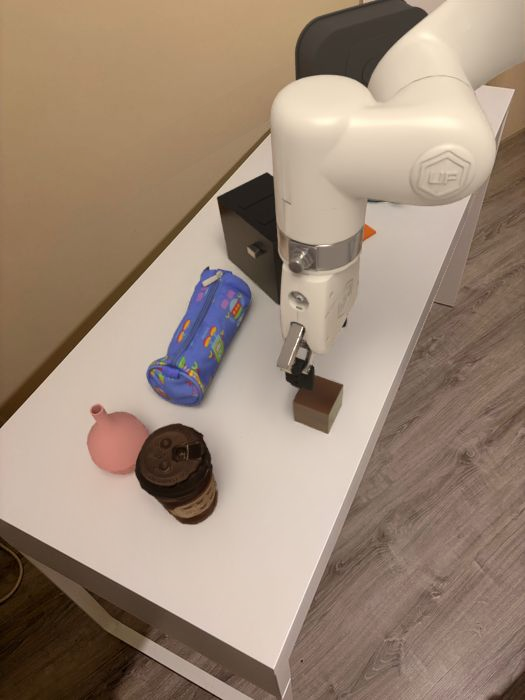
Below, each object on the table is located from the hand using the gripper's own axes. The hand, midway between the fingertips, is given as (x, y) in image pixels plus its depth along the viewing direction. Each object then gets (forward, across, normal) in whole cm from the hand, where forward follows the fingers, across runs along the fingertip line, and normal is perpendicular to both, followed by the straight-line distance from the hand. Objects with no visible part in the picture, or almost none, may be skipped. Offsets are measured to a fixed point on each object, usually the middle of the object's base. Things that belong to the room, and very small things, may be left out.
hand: (317, 352), depth 57 cm
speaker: (+14, +66, +18) cm, 70 cm away
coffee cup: (+14, -18, +9) cm, 24 cm away
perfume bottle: (+14, -16, +20) cm, 30 cm away
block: (+14, 0, 0) cm, 14 cm away
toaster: (+14, +24, +18) cm, 33 cm away
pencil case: (+14, +4, +19) cm, 24 cm away
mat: (+14, +36, +13) cm, 41 cm away
